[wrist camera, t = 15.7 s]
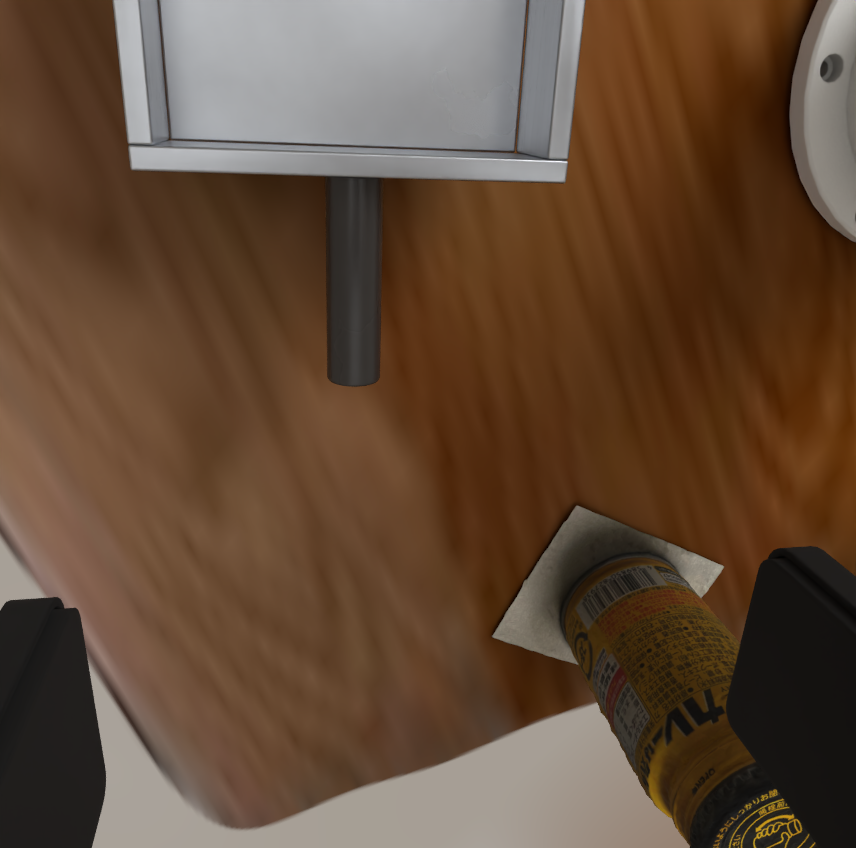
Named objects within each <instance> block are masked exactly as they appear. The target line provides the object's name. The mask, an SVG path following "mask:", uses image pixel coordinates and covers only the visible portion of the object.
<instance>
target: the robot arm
mask: <svg viewBox="0 0 856 848" xmlns="http://www.w3.org/2000/svg"><path fill="white" fill-rule="evenodd" d="M789 118H790V131H791V144H792V151H793V155H794V159H795V162H796V166H797V170H798V173H799V177H800V180H801V182H802V184H803V186H804V188H805V190H806V192H807V194H808V196H809V198H810V200H811V202H812V204H813V206H814V207H815V208H816V209H817V210H818V212H819V213H820V214H821V215H822V216H823V217H824V219H825V220H826V221H827V222H828V223H829V225H830V226H831V227H833V228H834V229H836V230H837V231H838V232H840V233H841V234H843V235H844V236H845V237H847V238H848V239H850V240H851V241H853V242H856V0H818V1H817V3H816V6H815V8H814V11H813V13H812V16H811V18H810V21H809V23H808V26H807V28H806V31H805V33H804V36H803V38H802V41H801V45H800V49H799V53H798V57H797V61H796V66H795V70H794V74H793V78H792V89H791V100H790V112H789ZM726 714H727V718H728V721H729V724H730V726H731V728H732V729H733V731H734V732H735V734H736V735H737V737H738V738H739V739H740V741H741V742H742V743H743V745H744V746H745V747H746V749H747V750H748V752H749V753H750V754H751V756H752V757H753V758H754V760H755V761H756V762H757V764H758V765H759V767H760V768H761V769H762V771H763V772H764V773H765V775H766V776H767V777H768V779H769V780H770V782H771V783H772V784H773V786H774V787H775V788H776V790H777V791H778V793H779V794H780V795H781V797H782V798H783V799H784V801H785V802H786V803H787V805H788V806H789V808H790V809H791V810H792V812H793V813H794V814H795V816H796V817H797V818H798V820H799V821H800V823H801V824H802V825H803V827H804V828H805V829H806V831H807V832H808V833H809V835H810V836H811V838H812V839H813V840H814V842H815V843H816V844H817V846H818V847H819V848H856V576H854V575H853V574H852V573H851V572H849V571H848V570H847V569H846V568H844V567H843V566H842V565H841V564H839V563H838V562H837V561H836V560H834V559H833V558H832V557H831V556H830V555H828V554H827V553H826V552H825V551H823V550H822V549H820V548H818V547H813V546H808V547H793V548H779V549H776V550H774V551H773V552H772V553H771V554H770V555H769V557H768V559H767V560H764V561H763V562H762V563H761V565H760V567H759V570H758V574H757V578H756V582H755V586H754V591H753V595H752V599H751V603H750V607H749V611H748V615H747V619H746V623H745V627H744V631H743V635H742V639H741V644H740V648H739V652H738V656H737V660H736V664H735V668H734V672H733V676H732V680H731V684H730V688H729V692H728V696H727V701H726ZM105 787H106V771H105V764H104V758H103V751H102V745H101V739H100V733H99V728H98V721H97V715H96V709H95V703H94V696H93V690H92V685H91V678H90V672H89V666H88V660H87V654H86V648H85V642H84V635H83V629H82V623H81V618H80V613H79V611H78V609H76V608H66V609H64V605H63V603H62V601H61V599H60V598H58V597H52V598H38V599H24V600H10V601H8V602H6V603H5V604H4V606H3V607H2V609H1V610H0V848H92V844H93V841H94V837H95V833H96V829H97V825H98V821H99V817H100V813H101V810H102V805H103V801H104V796H105Z"/></svg>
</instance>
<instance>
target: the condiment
mask: <svg viewBox="0 0 856 848" xmlns="http://www.w3.org/2000/svg"><path fill="white" fill-rule="evenodd" d="M723 568H724V566H722V565H720V564H717V563H715V562H713V561H710V560H708V559H706V558H703V557H701V556H699V555H697V554H694V553H692V552H689V551H686V550H684V549H683V548H680V547H678V546H676V545H673V544H671V543H667V542H666V541H664V540H661V539H658V538H655V537H653V536H651V535H648V534H645V533H642V532H639V531H637V530H635V529H633V528H631V527H629V526H626V525H624V524H621V523H619V522H617V521H615V520H613V519H610V518H607V517H604V516H601V515H598V514H596V513H593V512H591V511H589V510H587V509H584V508H582V507H580V506H576V507H575V509H574V510H573V511H572V513H571V514H570V516H569V518H568V519H567V521H565V522H564V523H563V525H562V526H561V528H560V530H559V531H558V533H557V534H556V536H555V537H554V539H553V540H552V542H551V544H550V545H549V547H548V548H547V550H546V551H545V552H544V553H543V555H542V557H541V558H540V560H539V561H538V563H537V565H536V566H535V568H534V570H533V571H532V573H531V574H530V576H529V577H528V579H527V580H525V581H524V583H523V586H522V588H521V590H520V592H519V594H518V596H517V597H516V599H515V601H514V602H513V604H512V605H511V606H510V608H509V609H508V611H507V612H506V614H505V616H504V618H503V620H502V622H501V623H500V625H499V626H498V628H497V630H496V631H495V633H494V634H493V636H492V637H493V638H496V639H500V640H502V641H504V642H507V643H510V644H514V645H518V646H521V647H523V648H525V649H528V650H531V651H536V652H539V653H542V654H544V655H546V656H549V657H554V658H557V659H560V660H563V661H568V662H571V663H574V664H578V665H579V668H580V670H581V671H582V673H583V675H584V678H585V681H586V682H587V684H588V686H589V688H590V690H591V691H592V692H593V693H594V695H595V698H596V700H597V703H598V705H599V708H600V711H601V713H602V714H603V715H604V716H605V717H606V719H607V720H608V722H609V724H610V727H611V731H612V732H613V733H614V734H615V736H616V737H617V739H618V741H619V743H620V746H621V748H622V750H623V751H624V752H625V754H626V758H627V760H628V762H629V764H630V765H631V767H632V769H633V771H634V772H635V773H636V775H637V776H638V779H639V782H640V784H641V786H642V787H643V789H644V790H645V792H646V795H647V796H649V798H650V799H651V800H652V801H653V803H654V804H655V806H656V807H657V808H658V809H660V810H661V811H662V812H663V813H665V814H666V815H667V816H668V817H670V818H672V819H673V821H674V824H675V827H676V828H677V829H678V831H679V833H680V834H681V835H682V836H683V837H684V839H685V840H686V841H687V843H688V844H689V845H690V848H819V847H818V846H817V844H816V843H815V842H814V840H813V839H812V838H811V836H810V835H809V833H808V832H807V831H806V829H805V828H804V827H803V825H802V824H801V823H800V821H799V820H798V818H797V817H796V816H795V814H794V813H793V812H792V810H791V809H790V808H789V806H788V805H787V803H786V802H785V801H784V799H783V798H782V797H781V795H780V794H779V793H778V791H777V790H776V788H775V787H774V786H773V784H772V783H771V782H770V780H769V779H768V777H767V776H766V775H765V773H764V772H763V771H762V769H761V768H760V767H759V765H758V764H757V762H756V761H755V760H754V758H753V757H752V756H751V754H750V753H749V752H748V750H747V749H746V747H745V746H744V745H743V743H742V742H741V741H740V739H739V738H738V737H737V735H736V734H735V732H734V731H733V729H732V728H731V726H730V724H729V721H728V718H727V714H726V701H727V696H728V692H729V688H730V684H731V680H732V676H733V672H734V668H735V664H736V660H737V656H738V652H739V648H740V643H739V642H738V641H737V639H736V638H735V637H734V636H733V635H732V634H731V633H730V632H729V630H728V629H727V628H726V627H725V626H724V624H723V623H722V622H721V621H720V620H719V619H718V617H717V616H716V615H715V614H714V613H713V612H712V610H711V609H710V608H709V607H708V606H707V604H706V603H705V602H704V601H703V600H702V599H701V598H702V596H703V595H704V594H705V593H706V592H707V591H708V589H709V587H710V586H711V585H712V584H713V582H714V581H715V579H716V578H717V577H718V575H719V574H720V572H721V571H722V569H723Z"/></svg>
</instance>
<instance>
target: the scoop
mask: <svg viewBox="0 0 856 848" xmlns="http://www.w3.org/2000/svg"><path fill="white" fill-rule="evenodd" d="M158 1H159V10H158ZM527 1H528V0H112V3H113V12H114V22H115V31H116V41H117V50H118V59H119V69H120V78H121V88H122V97H123V106H124V116H125V125H126V135H127V142H128V144H130V145H129V146H128V153H129V162H130V169H131V170H133V171H158V172H192V173H225V174H259V175H293V176H325V197H326V296H327V377H328V379H329V380H330V381H331V382H332V383H335V384H338V385H342V386H352V387H357V386H366V385H370V384H373V383H375V382H377V381H378V380H379V378H380V340H381V287H382V234H383V181H384V178H394V179H427V180H461V181H495V182H528V183H562V184H563V183H565V182H566V175H567V166H568V161H566V160H567V159H568V156H569V147H570V138H571V129H572V120H573V111H574V102H575V92H576V83H577V74H578V65H579V56H580V47H581V38H582V28H583V19H584V10H585V1H586V0H529V7H528V19H527V31H526V43H525V55H524V67H523V79H522V91H521V103H520V115H519V126H518V138H517V150H516V151H517V153H513V152H515V146H516V134H517V122H518V110H519V98H520V85H521V73H522V61H523V49H524V37H525V25H526V13H527ZM159 13H160V21H159ZM160 25H161V33H160ZM161 36H162V45H161ZM162 48H163V56H162ZM163 60H164V68H163ZM164 72H165V80H164ZM165 83H166V91H165ZM166 95H167V103H166ZM167 107H168V115H167ZM168 118H169V126H168ZM169 130H170V138H171V140H169ZM175 140H182V141H175ZM202 141H209V142H202ZM229 142H236V143H229ZM256 143H263V144H256ZM283 144H290V145H283ZM310 145H317V146H310ZM337 146H344V147H337ZM364 147H371V148H364ZM391 148H398V149H391ZM418 149H425V150H418ZM445 150H452V151H445ZM472 151H478V152H472ZM499 152H505V153H499Z"/></svg>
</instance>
